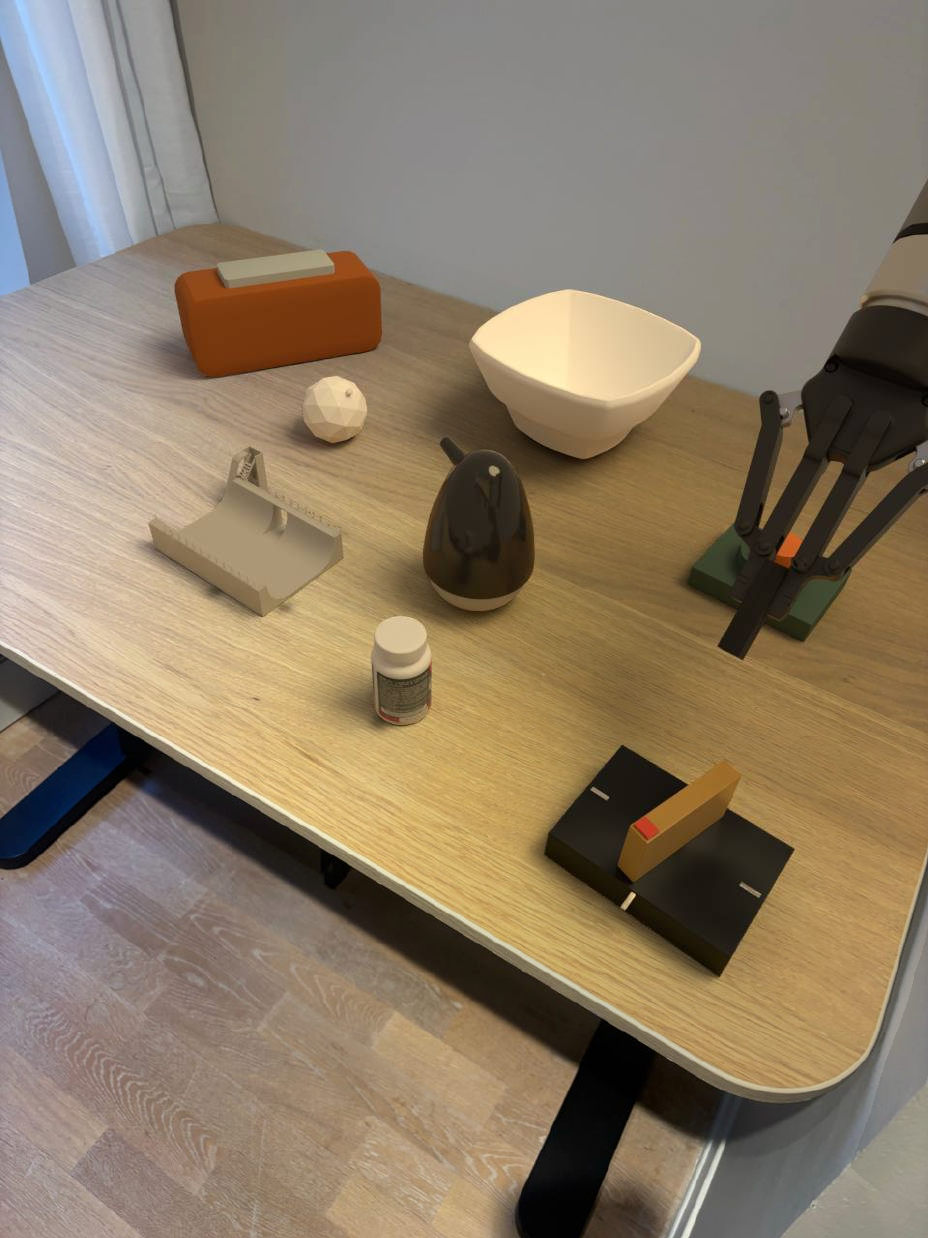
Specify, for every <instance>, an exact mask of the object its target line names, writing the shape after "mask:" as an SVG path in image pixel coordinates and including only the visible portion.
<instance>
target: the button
mask: <svg viewBox="0 0 928 1238" xmlns="http://www.w3.org/2000/svg"><path fill="white" fill-rule="evenodd" d="M802 541H803V539H801V538H800V537H799V536H798V535H797V534H794V533H793V532H791V531H790V532H789V534H788V536H787V538H786V539H785V541H784V543H783V545H782V547H781V548H780V550H779V552H778V554H777V555H776V560H775V561H774V562H776V563H778V564H780V565H782V566H784V567H786V568H788V569H789V567H790V565H791V558H792V557H793V558H794V556H795V554H796V552H797V550H798V549H799V547H800V545H801V543H802Z"/></svg>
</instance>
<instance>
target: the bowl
mask: <svg viewBox="0 0 928 1238" xmlns="http://www.w3.org/2000/svg"><path fill="white" fill-rule="evenodd" d="M468 349H469V350H470V353H471V355H472V357H473V359H474V361H475V363H476V365H477V367H478V369H479V371H480V373H481V375H482V377H483V379H484V381H485V383H486V385H487V387H488V390H489V391H490V393H491V394H492V395H493V396H495V398H496V399H497V400H498V401H500V402H501V403H502V404H504V405H505V406H506V408H507V411H508V413H509V415H510V418H511V420H512V422H513V424H514V426H515V427H516V428H517V429H518V430H519V431H521V432H522V433H523V434H525V435H526V436H528V437H529V438H530V439H531V440H533V441H535V442H536V443H538V444H540V445H542V446H544V447H546V448H548V449H551V450H553V451H556V452H559V453H562V454H564V455H566V456H570V457H573V458H577V459H580V460H587V459H590V458H593V457H596V456H598V455H600V454H603V453H605V452H607V451H609V450H611V449H612V448H614V447H616V446H617V445H619V444H620V443H621V442H622V441H623V440H624V439H625V438H626V437H627V436H628V434H629V433H630V432H631V431H632V429H633V428H634V427H636V426H637V425H639V424H641V423H642V422H644V421H646V420H647V419H649V417H650V416H652V415H653V414H654V413H655V412H656V411H658V410H659V408H660V407H661V406H662V404H663V403H664V402H665V401H666V400H667V398H668V397H669V396H670V395H671V394H672V393H673V391H674V390H675V389H676V387H678V385H679V384H680V383H681V381H683V379H684V378H685V377H686V376H687V374H688V373H689V372H690V371H691V369H692V368H693V367H694V366H695V365H696V363H697V362H698V360H699V357H700V353H701V350H702V343H701V341H700V339H699V338H698V337H697V336H695V335H693V334H692V333H690V331H688V330H687V329H685V328H684V327H681V326H679V325H677V324H676V323H673V322H672V321H670V320H668V319H665V318H664V317H662V316H658V315H657V314H655V313H652V312H650V311H647V310H645V309H643V308H640V307H638V306H635V305H632V304H628V303H626V302H623V301H620V300H616V299H613V298H610V297H607V296H603V295H600V294H596V293H593V292H588V291H581V290H577V289H571V288H569V289H568V288H567V289H562V290H557V291H552V292H548V293H543V294H541V295H538V296H535V297H532V298H529V299H527V300H524V301H522V302H520V303H518V304H515V305H513V306H510V307H508V308H507V309H505V310H503V311H502V312H500V313H498V314H496V315H494V316H493V317H492V318H490V319H489V320H487V322H485V323H483V324H482V325H481V326H479V327H478V329H477V330H476V332H475V333H474V335H473V336H472V337H471V338H470V340H469V344H468Z"/></svg>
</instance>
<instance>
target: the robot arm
mask: <svg viewBox="0 0 928 1238" xmlns="http://www.w3.org/2000/svg"><path fill="white" fill-rule="evenodd" d="M858 305H859V309H858V310H856V311H854V312H853V313H852V314H851V316H850V317H849V319H848V321H847V323H846V325H845V326H844V329H842V330H843V331H842V332H841V334H840V336H838V339H837V341H836V343H835V345H834V346H833V348H832V350H831V352H830V353H829V355H828V357H827V359H826V361H825V362H824V364H823V366H822V368H821V369H820V370H819V371H818V372H817V374H815V375H814V376H812V377H811V378H810V379H808V380H807V381H806V382H805V383H804V384H803V385H802V388H801V390H795V391H790V392H785V393H780V394H778V393H777V392H776V391H775V390H772V389H769V390H765V391H763V392H762V393H761V394H760V395H759V399H758V403H759V413H760V422H761V426H760V429H759V433H758V436H757V440H756V443H755V447H754V451H753V455H752V459H751V462H750V466H749V469H748V473H747V476H746V480H745V482H744V483H745V484H744V487H743V491H742V495H741V498H740V502H739V505H738V509H737V513H736V516H735V520H734V522H735V523H734V522H733V523H734V528H735V531H736V533H737V534H738V536H739V538H740V539H741V540H742V541H743V542H744V543H745V544H746V545H747V546H748V547H749V548H750V555H749V557H748V559H747V561H746V563H745V564H744V566H743V568H742V570H741V572H740V573H739V575H738V577H737V579H736V581H735V582H734V584H733V586H732V588H731V597H732V598H733V599H734V600H737V601H739V602H741V605H740V606H739V608H738V609H737V610H736V611H735V613H734V615H733V617H732V619H731V620H730V623H729V625H728V626H727V628H726V630H725V632H724V633H723V635H722V637H721V638H720V640H719V642H718V644H717V648H719V649H720V650H722V651H724V652H726V653H727V654H729V655H731V656H733V657H735V658H737V659H739V660H741V661H744V659H745V658H746V656H747V654H748V652H749V651H750V650H751V647H752V645H753V644H754V641H755V640H756V638H757V637H758V635H759V633H760V631H761V629H762V628H763V626H764V624H765V623H766V622H765V621H766V619H767V617H768V616H769V617H771V618H773V619H775V620H777V621H779V622H781V621H782V620H783V619H785V618H786V617H787V616H788V614H789V612H790V610H791V608H792V607H793V605H794V603H795V602H796V600H797V598H798V596H799V594H800V593H801V591H802V589H803V587H804V586H805V584H806V583H807V582H808V581H810V580H813V579H823V580H830V581H832V582H836V581H840V580H841V579H842V578H843V577H844V576H845V575H846V574H847V573H848V572H849V571H850V570H851V569H852V570H853V568H854V567H855V566H856V565H857V564H858V563H859V562H860V561H861V559H862V558H864V556H865V555H867V553H868V552H869V551H870V550H871V549H872V548H873V547H874V545H876V544H877V543H878V541H880V539H882V537H883V536H884V535H885V534H886V533H887V532H889V530H890V529H891V528H892V527H893V525H894V524H895V523H896V522H898V521H899V519H900V518H901V517H902V516H903V515H904V514H905V513H906V512H907V511H908V510H909V509H910V508H911V506H912V505H913V504H914V503H916V501H917V500H918V499H919V498H921V497H923V496H924V495H926V494H928V178H927V179H926V181H925V183H924V184H923V186H922V189H921V191H920V192H919V194H918V196H917V197H916V199H915V201H914V203H913V205H912V206H911V208H910V211H909V212H908V214H907V216H906V218H905V220H904V221H903V224H902V225H901V227H900V229H899V231H898V232H897V234H896V236H895V238H894V240H893V242H892V243H891V245H890V246H889V248H888V249H887V251H886V253H885V255H884V256H883V258H882V260H881V262H880V263H879V265H878V267H877V268H876V270H875V272H874V274H873V276H872V278H871V279H870V281H869V283H868V284H867V287H866V288H865V290H864V292H863V294H862V295H861V297H860V298H859V303H858ZM801 410H802V412H803V419H804V424H805V431H806V437H807V442H808V444H807V445H806V448H805V450H804V452H803V455H802V458H801V460H800V461H799V464H798V465H797V467H796V468H795V471H794V472H793V474H792V476H791V478H790V479H789V480H788V483H787V485H786V486H785V488H784V490H783V492H782V493H781V496H780V497H779V499H778V501H777V502H776V504H775V506H774V508H773V509H772V511H771V513H770V515H769V516H768V519H767V520H766V522H765V524H764V525H763V528H762V531H761V530H760V529H759V527H760V525H761V521H762V518H763V513H764V510H765V506H766V502H767V499H768V496H769V491H770V488H771V484H772V481H773V477H774V475H775V470H776V466H777V462H778V459H779V455H780V452H781V449H782V448H781V447H782V444H783V438H784V429H786V428H789V427H790V426H792V425H793V424H794V422H795V417H796V415H797V413H798V412H800V411H801ZM913 453H915V456H914V457H913V458H912V459H911V460H910V461H909V462H908V466H907V474H906V475H905V476H904V477H902V479H901V480H900V481H898V482H897V484H896V485H895V486H894V487H893V488H892V489H891V490H890V491H889V492H888V493H887V494H886V496H884V497H883V498H882V500H881V501H880V502H879V503H878V504H877V505H876V506H875V507H874V508H873V509H872V510H871V511H870V513H869V514H868V515H867V516H866V517H864V519H863V520H862V521H861V522H860V523H859V524H858V525H857V526H856V527H855V529H853V530H852V532H851V533H850V534H849V535H848V536H846V538H845V539H844V540H843V541H842V542H841V543H840V544H839V546H838V547H836V549H834V551H833V552H832V553H831V554H830V555H828V557H827V556H824V554H825V552H826V551H827V548H828V547H829V545H830V544H831V541H832V540H833V538H834V536H835V535H836V532H837V531H838V529H839V527H840V525H841V524H842V522H843V520H844V518H845V517H846V515H847V513H848V511H849V509H850V508H851V506H852V504H853V503H854V501H855V499H856V497H857V495H858V493H859V492H860V491H861V490H862V488H863V486H864V485H865V483H866V481H867V479H868V478H869V476H870V474H871V473H872V472H873V473H874V472H876V471H878V470H881V469H884V468H886V467H887V466H889V465H891V464H893V463H895V462H897V461H899V460H901V459H902V458H903V459H904V458H906V457H907V456H909V455H911V454H913ZM831 462H836V463H837V462H838V463H841V464H842V468H841V471H840V472H839V473H840V474H839V475H838V477H837V479H836V481H835V482H834V484H833V486H832V488H831V490H830V492H829V493H828V495H827V497H826V499H825V500H824V502H823V503H822V506H821V508H820V509H819V511H818V513H817V515H816V516H815V518H814V520H813V522H812V523H811V526H810V527H809V529H808V531H807V533H806V535H805V536H804V538H803V539H802V541H803V542H802V543H801V545H800V547H799V549H798V550H797V552H796V554H795V556H794V558H793V557H792V558H791V565H790V567H789V569H788V568H786V567H784V566H782V565H780V564H778V563H776V562H774V561H775V560H776V555H777V554H778V552H779V550H780V548H781V547H782V545H783V543H784V541H785V539H786V538H787V536H788V534H789V532H791V530H792V529H793V527H794V526H795V523H796V522H797V520H798V518H799V516H800V514H801V513H802V511H803V509H804V508H805V506H806V504H807V502H808V501H809V499H810V497H811V495H812V493H813V491H814V489H815V488H816V486H817V484H818V483H819V481H820V479H821V478H822V475H824V474H825V473H826V471H827V469H828V468H829V466H830V464H831ZM822 556H824V557H822ZM826 557H827V558H826Z"/></svg>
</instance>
